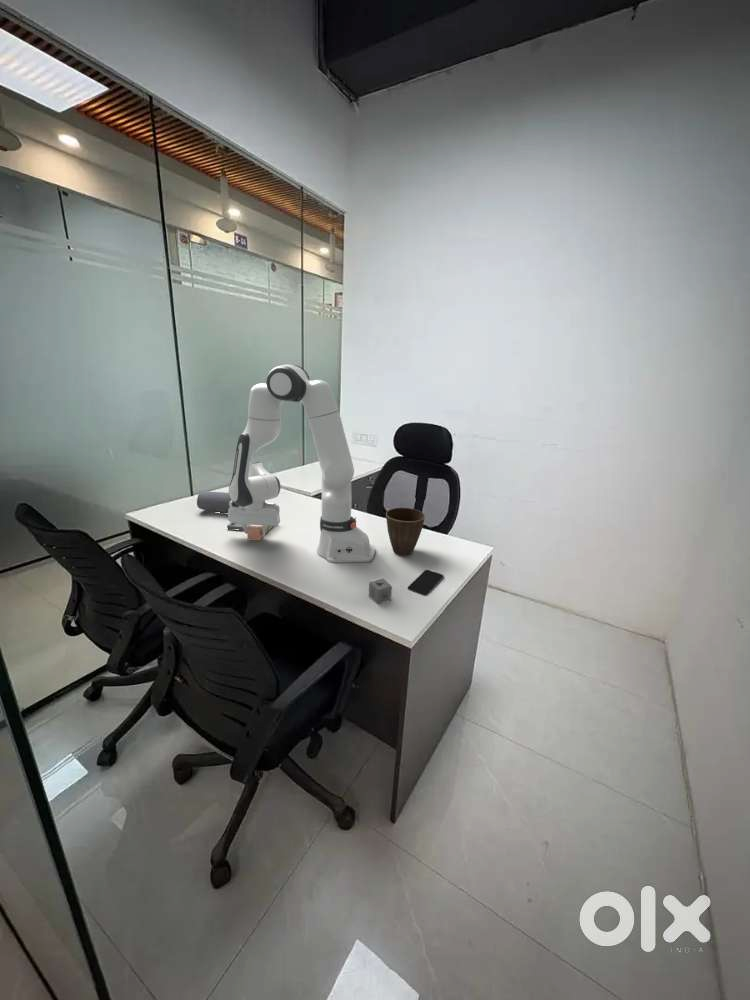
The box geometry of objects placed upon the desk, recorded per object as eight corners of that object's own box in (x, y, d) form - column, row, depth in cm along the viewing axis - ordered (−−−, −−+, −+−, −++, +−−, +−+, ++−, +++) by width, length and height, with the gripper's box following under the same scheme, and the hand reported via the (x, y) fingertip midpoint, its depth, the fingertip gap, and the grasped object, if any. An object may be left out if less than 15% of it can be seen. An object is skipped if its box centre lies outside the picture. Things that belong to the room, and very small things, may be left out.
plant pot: (389, 562, 136) (393, 522, 131) (378, 544, 149) (381, 508, 144) (427, 559, 140) (431, 520, 135) (413, 542, 153) (416, 506, 148)
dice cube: (368, 595, 114) (369, 582, 113) (382, 591, 117) (382, 578, 115) (377, 604, 110) (378, 590, 109) (390, 599, 113) (391, 585, 111)
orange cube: (263, 536, 151) (262, 525, 149) (259, 540, 147) (259, 529, 145) (251, 535, 151) (250, 524, 149) (247, 539, 147) (246, 528, 145)
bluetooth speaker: (252, 511, 177) (251, 491, 174) (244, 518, 168) (243, 497, 165) (207, 507, 178) (205, 488, 175) (197, 514, 170) (194, 493, 166)
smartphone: (406, 588, 119) (425, 568, 131) (405, 591, 120) (425, 571, 131) (426, 596, 116) (444, 575, 127) (426, 599, 116) (444, 578, 128)
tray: (256, 523, 163) (255, 519, 163) (248, 531, 155) (247, 527, 154) (236, 521, 164) (236, 518, 163) (227, 529, 155) (227, 525, 155)
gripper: (281, 501, 146) (282, 532, 150) (232, 497, 147) (234, 528, 152) (276, 506, 140) (277, 539, 145) (224, 502, 141) (227, 535, 146)
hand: (255, 533), depth 148 cm, fingers closed on orange cube, 5 cm apart
